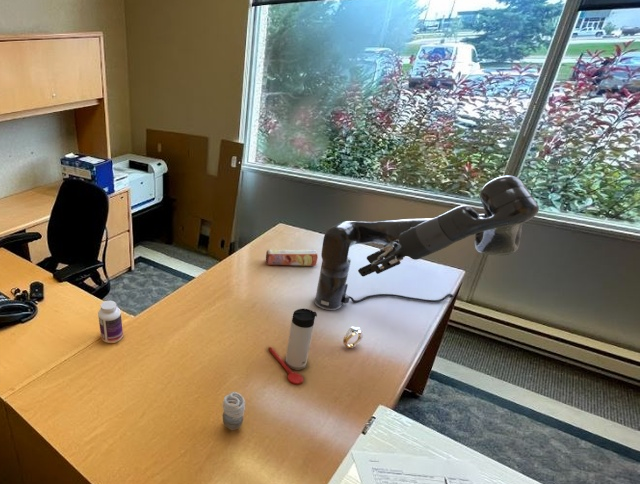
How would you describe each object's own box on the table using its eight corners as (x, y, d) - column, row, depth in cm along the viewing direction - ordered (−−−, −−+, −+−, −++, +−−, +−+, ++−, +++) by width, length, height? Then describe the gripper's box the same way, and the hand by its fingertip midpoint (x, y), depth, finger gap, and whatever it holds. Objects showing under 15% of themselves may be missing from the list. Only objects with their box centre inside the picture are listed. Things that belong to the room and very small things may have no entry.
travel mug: (308, 371, 130) (319, 319, 120) (286, 369, 131) (294, 318, 121) (305, 357, 135) (314, 307, 125) (284, 356, 136) (291, 306, 127)
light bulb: (218, 421, 115) (220, 390, 110) (238, 418, 116) (241, 387, 110) (224, 438, 111) (227, 406, 105) (245, 435, 111) (248, 404, 105)
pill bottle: (126, 333, 152) (124, 300, 145) (117, 346, 146) (113, 313, 139) (107, 328, 155) (103, 296, 148) (97, 341, 149) (92, 308, 142)
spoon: (263, 350, 139) (263, 347, 139) (275, 347, 140) (275, 345, 140) (292, 386, 125) (293, 383, 124) (305, 382, 126) (306, 380, 125)
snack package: (266, 266, 187) (268, 253, 184) (265, 259, 193) (266, 246, 190) (316, 268, 184) (318, 254, 180) (313, 261, 189) (315, 247, 186)
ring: (356, 342, 140) (361, 323, 136) (363, 348, 137) (368, 328, 133) (338, 346, 139) (343, 327, 135) (345, 352, 136) (349, 333, 132)
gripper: (431, 262, 95) (366, 289, 107) (441, 239, 104) (379, 266, 117) (411, 236, 95) (348, 266, 108) (422, 215, 105) (362, 245, 117)
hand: (364, 266), depth 112 cm, fingers open, 8 cm apart
